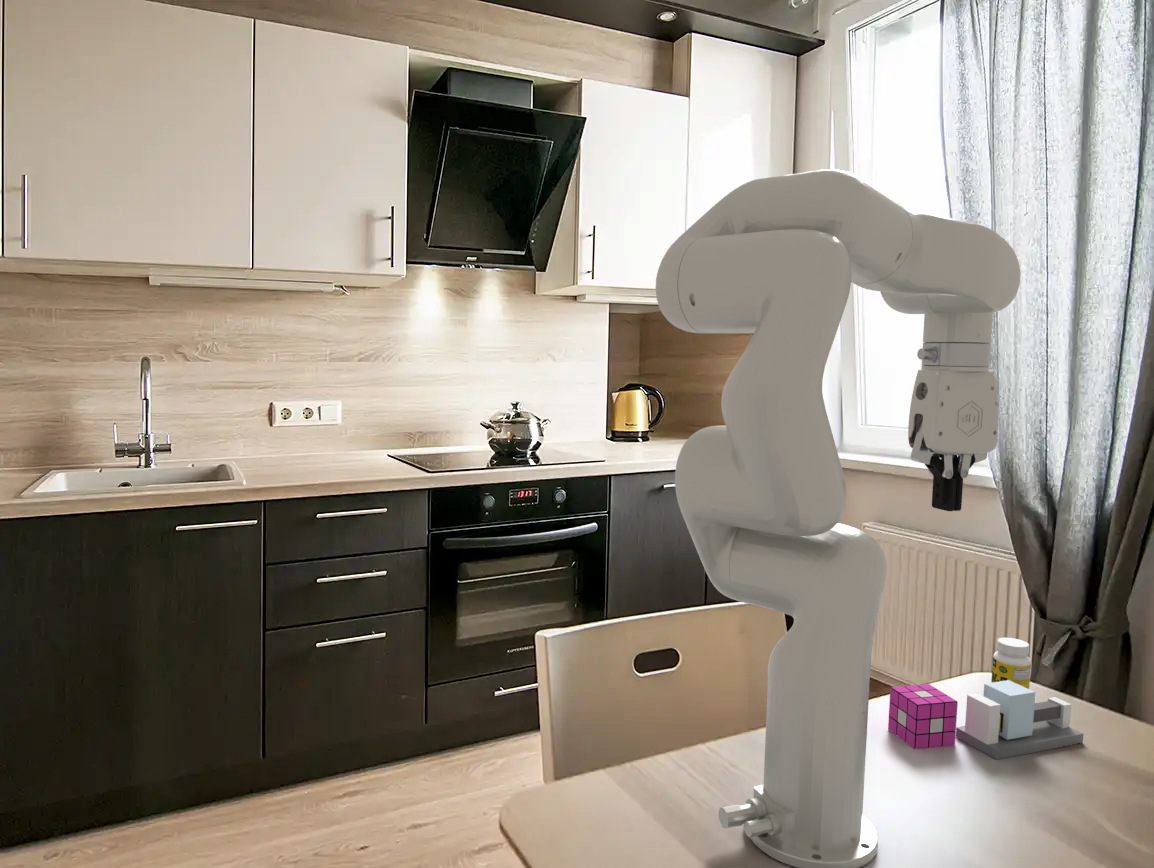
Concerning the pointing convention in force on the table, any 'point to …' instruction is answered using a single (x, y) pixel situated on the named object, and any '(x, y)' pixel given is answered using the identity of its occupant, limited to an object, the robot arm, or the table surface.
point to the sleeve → (1013, 707)
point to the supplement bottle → (1011, 662)
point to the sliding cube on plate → (1045, 735)
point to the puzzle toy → (922, 716)
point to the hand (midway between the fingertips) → (946, 508)
